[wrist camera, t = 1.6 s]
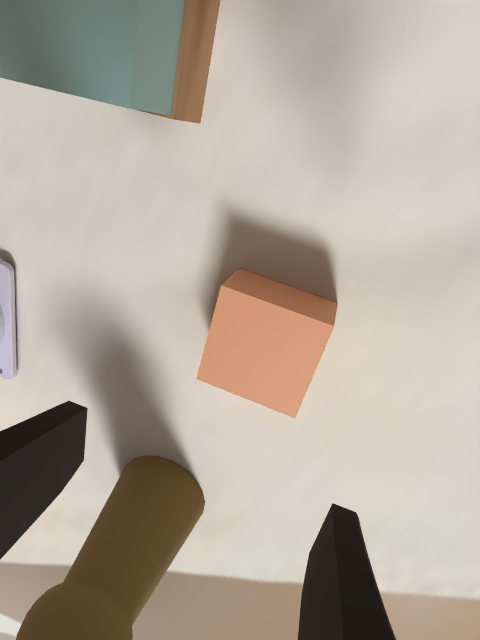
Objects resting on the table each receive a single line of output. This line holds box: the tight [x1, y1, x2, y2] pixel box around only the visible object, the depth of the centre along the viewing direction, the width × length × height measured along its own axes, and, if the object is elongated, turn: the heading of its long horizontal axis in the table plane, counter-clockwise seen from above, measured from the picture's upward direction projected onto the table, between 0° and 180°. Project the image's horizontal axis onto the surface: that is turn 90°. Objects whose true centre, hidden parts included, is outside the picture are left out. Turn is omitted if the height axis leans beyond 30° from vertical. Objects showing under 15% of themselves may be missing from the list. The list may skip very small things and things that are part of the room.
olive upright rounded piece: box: [16, 456, 205, 640], centre depth 22 cm, size 6×6×11 cm
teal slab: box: [0, 0, 185, 115], centre depth 13 cm, size 5×5×3 cm
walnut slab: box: [135, 0, 220, 123], centre depth 16 cm, size 5×5×3 cm
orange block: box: [197, 268, 338, 418], centre depth 19 cm, size 5×5×3 cm
